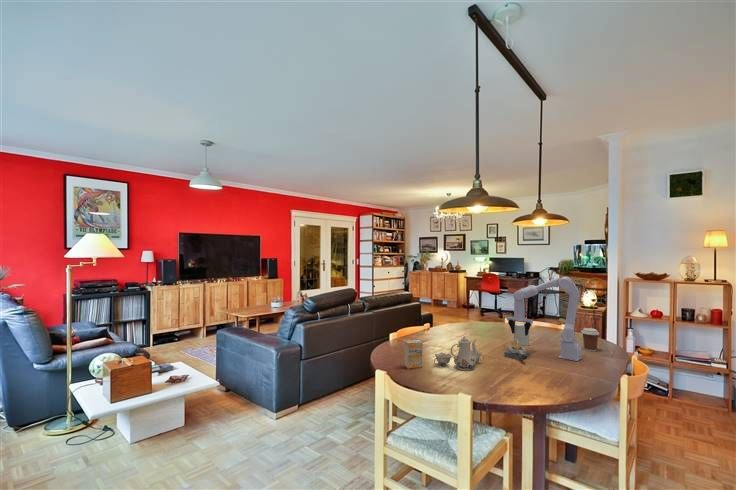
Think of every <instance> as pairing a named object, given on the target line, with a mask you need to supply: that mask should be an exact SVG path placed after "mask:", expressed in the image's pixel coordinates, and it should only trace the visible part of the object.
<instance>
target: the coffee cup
mask: <svg viewBox="0 0 736 490" xmlns="http://www.w3.org/2000/svg"><path fill="white" fill-rule="evenodd" d="M582 329H583V330H581V332H580V333H581V334H582V340H583V341H582V342H583V349H584V350H585V351H588V352H597V351H598V340H599V339H598V338H599V335H600V332H598V330H597V329H596V328H593V327H592V328H591V327H584V328H582Z"/></svg>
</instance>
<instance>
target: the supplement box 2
mask: <svg viewBox="0 0 736 490" xmlns="http://www.w3.org/2000/svg"><path fill="white" fill-rule="evenodd" d="M524 324H525V323H524V322H515V333H513V341H514V340H517V339H519V341H520V347H524V346H527V347H528V346H530V330H529V331H528V335H527V336H525V326H524Z"/></svg>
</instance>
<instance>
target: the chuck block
mask: <svg viewBox="0 0 736 490" xmlns="http://www.w3.org/2000/svg"><path fill="white" fill-rule="evenodd" d="M503 355H504V356H503V357H505V358H509V359H510V358H511V359H515V360H520V361H524V360H525V359H523V358H521V357H520V356H519V355H518V354H517V353H511V352H510V351H509V350H506V351H504V354H503ZM525 355H526V356H527V358H530V356H531V352H530V351H527V350H526V354H525Z"/></svg>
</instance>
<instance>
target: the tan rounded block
mask: <svg viewBox="0 0 736 490" xmlns="http://www.w3.org/2000/svg"><path fill="white" fill-rule="evenodd" d="M513 346H514V349H517V350H520V347H521V346H520V341H519V339H517V340H514V339H513Z"/></svg>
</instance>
